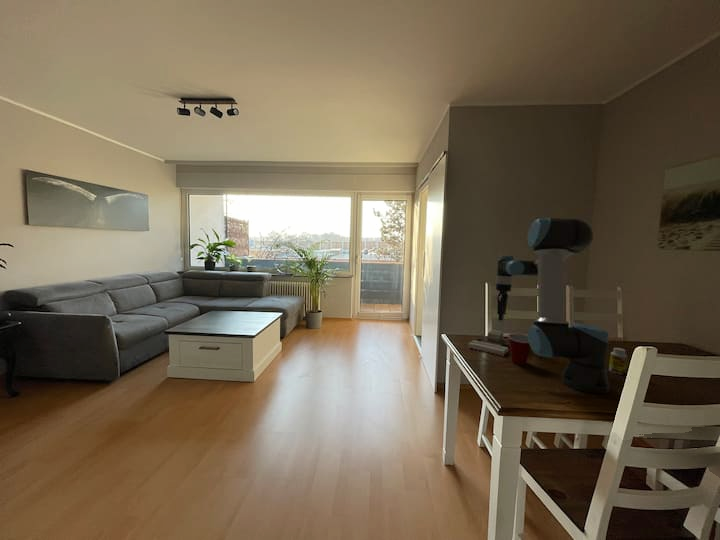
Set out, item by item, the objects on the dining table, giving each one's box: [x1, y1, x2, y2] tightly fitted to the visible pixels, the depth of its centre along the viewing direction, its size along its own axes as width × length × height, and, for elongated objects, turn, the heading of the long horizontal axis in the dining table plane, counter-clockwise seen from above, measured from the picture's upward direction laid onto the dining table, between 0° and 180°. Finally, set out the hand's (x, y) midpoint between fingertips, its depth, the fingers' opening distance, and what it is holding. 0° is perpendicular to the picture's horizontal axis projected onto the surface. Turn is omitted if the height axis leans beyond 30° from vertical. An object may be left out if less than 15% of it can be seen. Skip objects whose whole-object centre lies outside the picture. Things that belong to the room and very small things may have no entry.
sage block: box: [487, 329, 504, 343], centre depth 171 cm, size 7×6×4 cm
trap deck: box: [468, 334, 511, 357], centre depth 167 cm, size 20×17×2 cm
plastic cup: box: [507, 333, 531, 366], centre depth 146 cm, size 11×11×12 cm
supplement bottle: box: [608, 347, 628, 375], centre depth 138 cm, size 6×6×10 cm
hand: (500, 325), depth 178 cm, fingers closed
